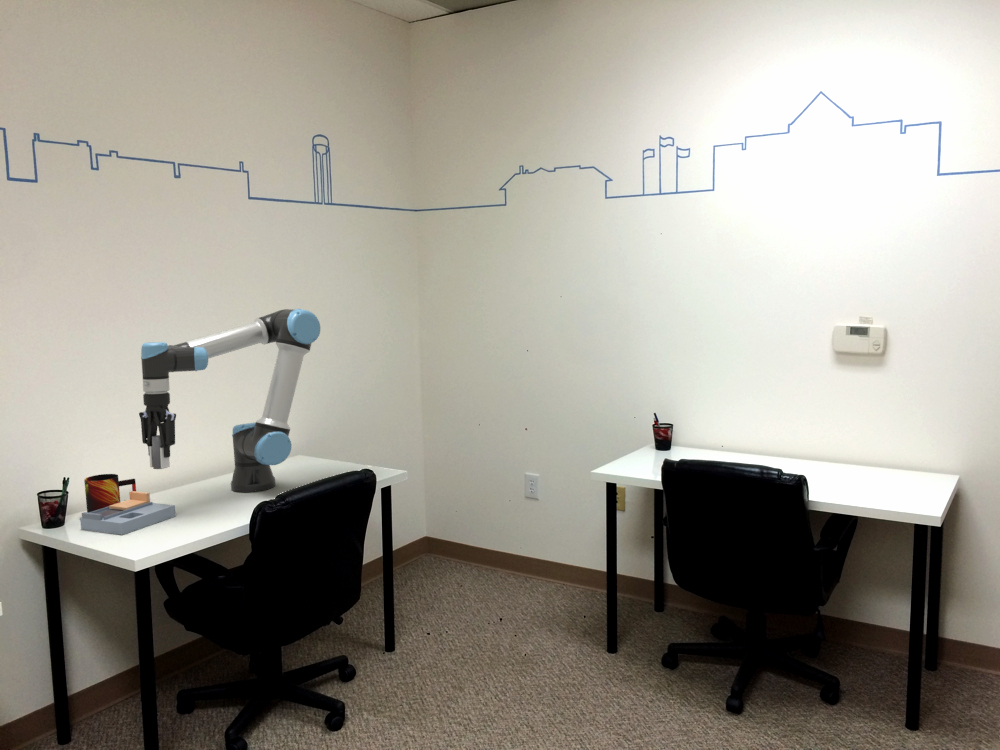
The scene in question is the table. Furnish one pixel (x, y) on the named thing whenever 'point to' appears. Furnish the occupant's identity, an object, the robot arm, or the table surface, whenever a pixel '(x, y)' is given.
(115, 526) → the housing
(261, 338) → the robot arm
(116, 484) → the mug
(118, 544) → the table surface
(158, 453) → the pin
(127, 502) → the lid
